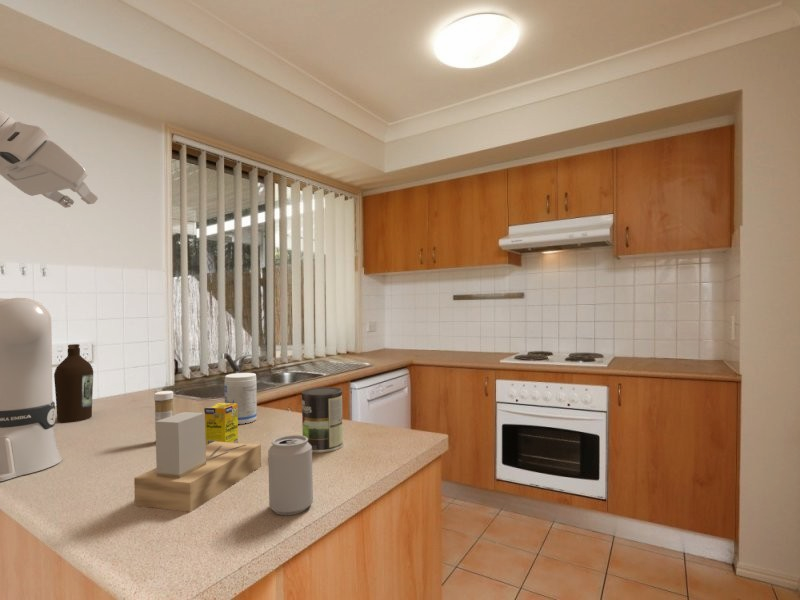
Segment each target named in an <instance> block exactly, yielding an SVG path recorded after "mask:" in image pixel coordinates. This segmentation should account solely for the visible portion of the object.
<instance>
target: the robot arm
mask: <svg viewBox="0 0 800 600" xmlns="http://www.w3.org/2000/svg"><path fill="white" fill-rule="evenodd" d="M49 137H50V135H49V133H47V131H45V130H44V129H42V127H40V126H37V125H34V124H33V125H32V124H28V123H27V124H26V123H23V122H21V121H17V120H16V119H15V118H13V116H11V115H9V114H8V113H7V112H5V111H4V110H1V109H0V176H1V177H3V178H4V179H5V180H6V181H7V182H8V183H10V184H12V185H13V186H15V187H16V188H17V189H18V190H19V191H21V192H23V193H24V194H26V195H28V196H31V197H33V196H34V197H35V196H38V195H42V196H43V197H45V198H46V199H48V200H50V201H53V202H55V203H58V204H59V205H60V206H62V207H63V208H65V209H66V208H71V207H72V206H73V205H74V203H75V200H74V199H72V198H71V197H69V196H68V195H67V194H66V195H65V194H63V193H61V192H60V191H64V190H70V191H72V192H73V193H76V194H77V195H78V196H79V197H80V200H81V201H83V202H85V203H86V204H87V205H93V204H95V203H96V202H97V201H98V199H99V198H98V196H97V195H96V194H95V193H93V192H92V191H91V190H90V188H89V187H88V185H87V184H86V183H85V182H84V181H85V179H86V178H87V176H88V175H89V174H88V172H87V170H86V169H85V168H84V166H83V165H82V164H81V163H80V162H79V161H77V160H76V158H74V157H73V156H72V155H71V154H70V153H68V151H67V150H65V149H64V148H62V147H61V146H60V145H59V144H57V143H56V142H54V141H53V140H50V139H48V138H49ZM52 333H53V332H52V317H51V314H50V312H49V310H48V309H47V307H45V306H44V305H43V304H42V303H40V302H38V301H36V300H33V299H31V298H25V297H13V298H2V297H0V482H3V481H8V480H10V479H13V478H16V477H20V476H23V475H24V476H25V475H28V474H32V473H36V472H39V471H42V470H45V469H48V468H50V467H53V466H55V465H57V464H59V463H60V462H61V461H63V457H62V455H61V453H60V450H59V447H58V442H57V437H56V433H55V425H56V419H57V412H56V401H55V402H54V401H53V347H52V341H53V340H52V336H53V335H52Z"/></svg>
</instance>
